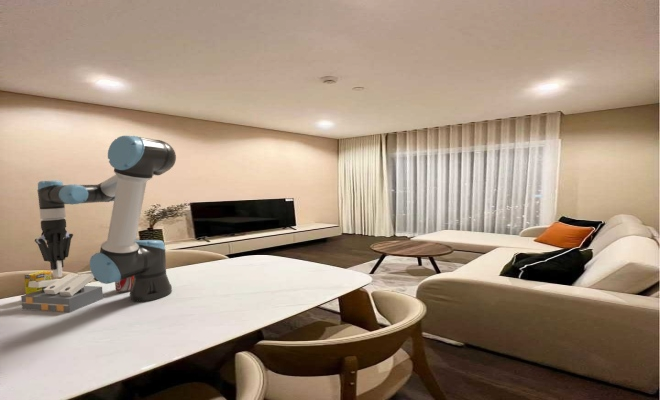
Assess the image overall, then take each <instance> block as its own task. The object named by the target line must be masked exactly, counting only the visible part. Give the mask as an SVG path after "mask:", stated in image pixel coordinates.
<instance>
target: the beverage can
mask: <svg viewBox="0 0 660 400" xmlns="http://www.w3.org/2000/svg"><path fill="white" fill-rule="evenodd" d="M133 281H134V276H132V277H129V278H126V279H123V280H120V281H118V282H114V285H115V287H114V288H115V291H116V292H118V293H122V294H123V293H130V291H131V288H132V284H133Z"/></svg>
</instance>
